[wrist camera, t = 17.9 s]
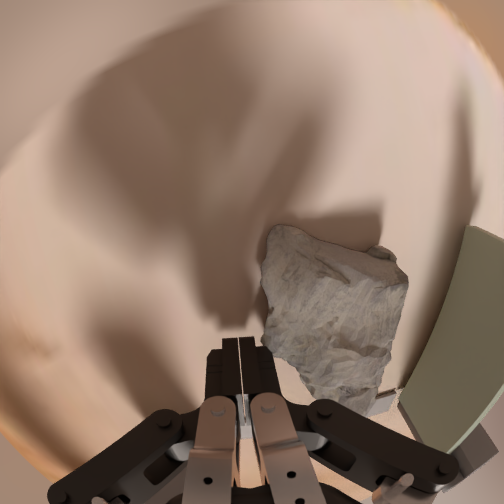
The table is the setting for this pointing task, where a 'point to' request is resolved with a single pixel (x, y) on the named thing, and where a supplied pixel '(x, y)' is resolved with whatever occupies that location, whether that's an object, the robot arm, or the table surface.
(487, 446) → the door frame
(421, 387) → the door
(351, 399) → the stone
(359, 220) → the table surface
